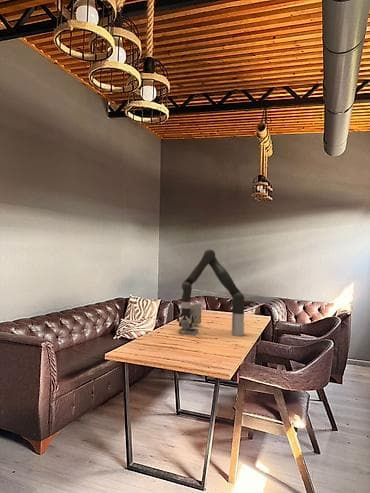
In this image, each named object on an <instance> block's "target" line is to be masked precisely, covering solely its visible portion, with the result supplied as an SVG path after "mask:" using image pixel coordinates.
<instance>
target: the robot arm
mask: <svg viewBox="0 0 370 493" xmlns="http://www.w3.org/2000/svg"><path fill="white" fill-rule="evenodd" d="M208 265H209V266H210V268H211V269H212V270H213V273H214V274H215V276H216V278H217V279H218V280H219V282H220V283H221V285H222V286H223V287H224V288H225V289H226V290H227V291H228V292H229V294H230V296H231V297H232V307H231V309H232V313H231V314H232V316H231V317H232V318H231V335H232V336H235V337H236V336H237V337H243V336H244V335H245V319H244V318H245V296H244V293H242V292H241V290H240V289H239V288H238V287H237V286H236V284H235V282H234V280H233V278H232V276H230V274H229V272H228V271H227V270H226V268H224V266H223V265H221V263H220V262H219V260H218V259H217V257H216V252H215V251H214V250H213V249H209V248H208V249H206V250H205V251H204V252H203V255H202V258H201V259H200V261H199V262H198V264H197V265H196V266H195V268H193V270H192V271H191V273H190V274H189V275H188V277H187V278H186V279H185V280H184V281H183V282H182V284H181V289H182V295H181V305H180V309H181V310H180V313H176V314H177V315H176V322H178V327H179V328H182V327H181V323H182V322H181V321H182V320H188V321H189V323H190V324H189V328H191V327H192V323H194V315H190V311H191V304H192V303H191V301H192V300H191V295H192V289H193V288H192V285H193V284H195V283H196V282H197V280H198V279H199V278H200V276H201V275H202V274H203V271H204V270H205V268H207V266H208ZM180 317H182V318H180ZM190 317H191V318H192V321H191V319H190ZM191 329H192V328H191Z"/></svg>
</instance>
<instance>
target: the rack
mask: <svg viewBox="0 0 370 493" xmlns="http://www.w3.org/2000/svg"><path fill="white" fill-rule="evenodd" d="M178 334H179V335H186V336H187V335H188V336H196V335H198V334H199V328H196V329H192V328H188V330H182V328H180V329H178Z"/></svg>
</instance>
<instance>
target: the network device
mask: <svg viewBox="0 0 370 493" xmlns="http://www.w3.org/2000/svg"><path fill="white" fill-rule="evenodd" d="M190 315H194V323H192V327H191V329H199V328H201V325H200V324H201V323H202V303H201V302H194V303H191V311H190ZM180 317H181V316H180ZM181 318H182V317H181ZM181 318H180V319H181ZM190 319H191V321H192V318H191V317H190ZM181 322H182V323H184V322H189V321H188V320H182V321H181ZM182 323H181V327H180V328H182ZM189 324H190V323H189ZM188 328H189V326H188Z"/></svg>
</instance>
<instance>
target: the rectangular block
mask: <svg viewBox="0 0 370 493" xmlns="http://www.w3.org/2000/svg"><path fill="white" fill-rule="evenodd" d="M188 326H189V322H184V323H182V327H181V329H182V330H188Z"/></svg>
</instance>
